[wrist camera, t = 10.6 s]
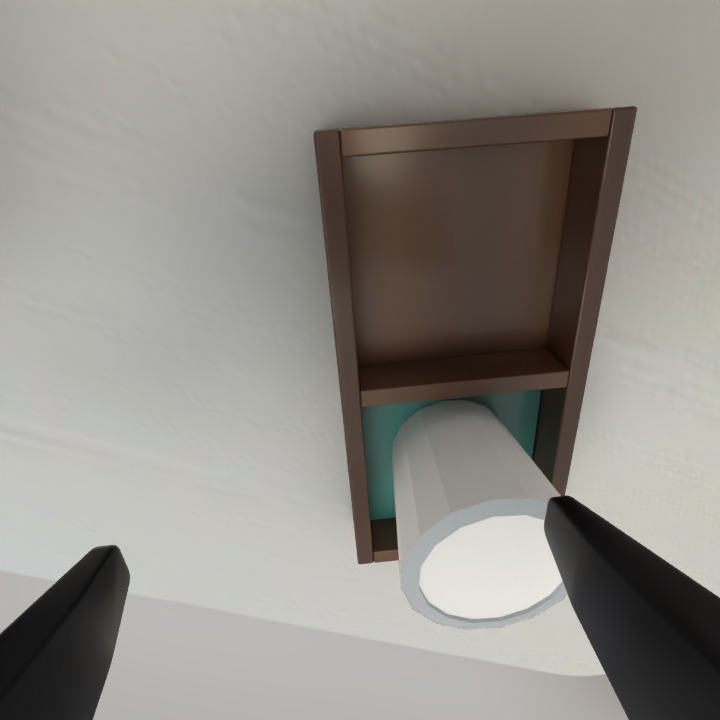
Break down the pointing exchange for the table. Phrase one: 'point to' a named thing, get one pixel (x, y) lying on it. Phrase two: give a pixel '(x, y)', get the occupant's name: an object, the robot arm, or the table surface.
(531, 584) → the white cup
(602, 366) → the table surface
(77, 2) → the table surface
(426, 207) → the holder
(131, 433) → the table surface
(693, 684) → the robot arm
